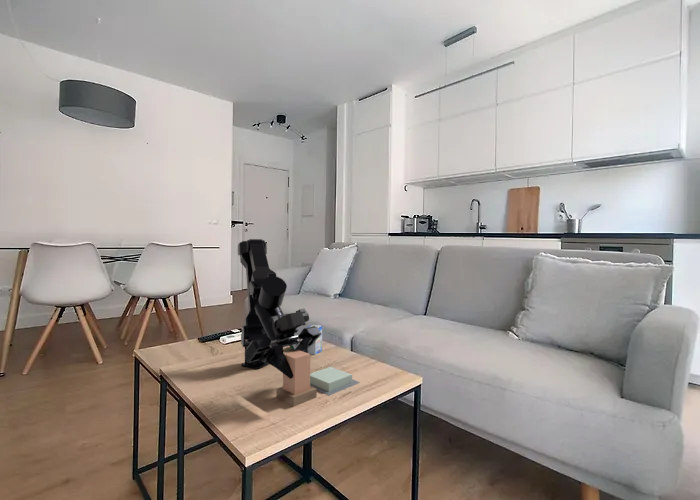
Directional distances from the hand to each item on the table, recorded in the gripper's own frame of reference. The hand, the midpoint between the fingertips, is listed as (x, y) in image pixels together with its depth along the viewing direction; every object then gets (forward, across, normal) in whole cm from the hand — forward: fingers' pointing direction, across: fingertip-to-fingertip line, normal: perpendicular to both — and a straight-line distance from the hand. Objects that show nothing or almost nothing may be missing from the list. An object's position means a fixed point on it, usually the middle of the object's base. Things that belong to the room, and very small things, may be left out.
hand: (300, 374), depth 81 cm
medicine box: (-13, +25, +23) cm, 37 cm away
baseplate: (+3, +11, +6) cm, 13 cm away
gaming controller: (-18, +26, +28) cm, 43 cm away
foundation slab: (+2, +11, +6) cm, 13 cm away
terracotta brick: (+2, 0, +4) cm, 4 cm away
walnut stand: (+4, 0, +6) cm, 7 cm away
